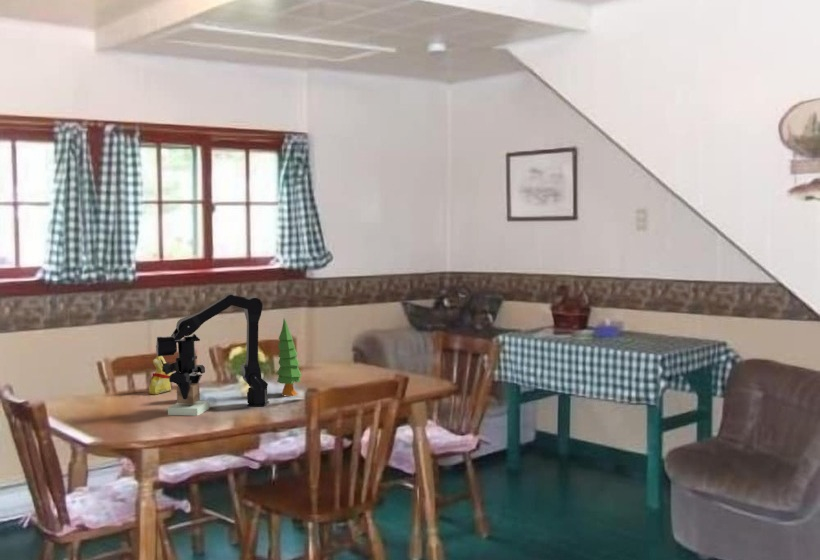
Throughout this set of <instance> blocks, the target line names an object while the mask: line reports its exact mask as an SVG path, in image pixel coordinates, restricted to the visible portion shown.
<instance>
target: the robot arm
mask: <svg viewBox="0 0 820 560" xmlns="http://www.w3.org/2000/svg"><path fill="white" fill-rule="evenodd" d="M232 306H233V307H236V308H241V309H243V311H244V316H245V319H246V354H245V355H246V356H245V357H246V359H245V362H244V363H243V364H242V363H241V364H240V370H241V371H240V372H241V373H240V375H241V377H242V379H243V381H244V382H245V383H246V384H248V391H247V393H246V395H247V396H246V397H247V398H246V401H247V402H246V403H247V404H246V406H247V407H265V406H266V405H268V404H270V401H269V400H268V386H269V384H268V383H267V382H266V381H265V379H263V378H262V373H261V366H260V362H259V322H260V319H261V316H262V311H263V302H262V300H261V299H260V298H258V297H255V296H253V295H251V296H247V297H244V296H239V295H235V294H232V293H227V294H225V295H224V296H223V297H222V298H220V299H218V300H217V301H215V302H213V303H211V304H210V305H208V306H206V307H205V308H203V309H202V310H199V311H198V312H197V313H194V314H190V315H187V316H184V317H182V318H180V319H179V320H178V321H177V323H176V325H175V329H174V331H172V333H171V336H157V337H156V345H155V350H156V357H157V356H163V357H164V356H174V355H175V354H176V353H177V352H178V353H177V354H178V357H176V358H175V361H174V362H172V363H170V362H166V363H165V364H163V367H162V371H163V372H165V374H166V375H167V374H169V373H171V372H172V374H171V375H170V376H169V382H171V383H173V384H175V385H177V386H179V388H180V391H181V394H182V396H183V399H187V396H188V393H189V389H190V385H191V383H199V384H200V381H201V378H202V377H203V374H204V373H206V367H205V366H204V365H203V364H196V359H198V355H196V351H195V342H200V341H201V339H200V337H198V336H197V334H195V332H196V331H197V330H199V328H200V327H201V326H202V325H203V324H204V323H205V322H208V321H209V320H210V319H212V318H213V317H215V316H217V315H218V314H220V313H222V312H223V311H225V310H227V309H228V308H230V307H232ZM197 372H198V373H197ZM199 373H200V374H199Z"/></svg>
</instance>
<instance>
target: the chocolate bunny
mask: <svg viewBox="0 0 820 560" xmlns="http://www.w3.org/2000/svg"><path fill="white" fill-rule="evenodd" d="M165 363H167V362H166V360H165V358H164V356H157V355H156V357H155V358H154V359H153V360H152V364H153V365H154V367H155V372H153V373H152V376H151V378H150V379H151V380H150V384H149V387H148V388H149V389H148V392H149V394H150V395H158V394H162V393H166V392H167V393H168V392H171V391H172V387H171V383H172V382H169V376H170V375H171V374H173V372H171V373H169V374H167V375H166V374H165V372H163V371H162V367H163V364H165Z"/></svg>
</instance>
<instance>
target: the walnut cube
mask: <svg viewBox="0 0 820 560" xmlns="http://www.w3.org/2000/svg"><path fill="white" fill-rule="evenodd" d="M200 391H201V390H200V382H199V383H191V385H190V389H189V393H188V396H187V399H183V396H182V394H181V391H180V388H179V386H178V385H177V386H176V399H177V400H176V403H195V402H197V401H201V400H200V399H201V397H200V395H201V394H200Z"/></svg>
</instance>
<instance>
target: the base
mask: <svg viewBox="0 0 820 560" xmlns="http://www.w3.org/2000/svg"><path fill="white" fill-rule="evenodd" d="M208 410H210V402H209V401H201V400H199V401H197V402H195V403H177V402H176V403H174V404H172V405H171V406H169V407H167V415H168V416H194V417H195V416H199V415H201V414H203V413H204V412H206V411H208Z"/></svg>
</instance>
